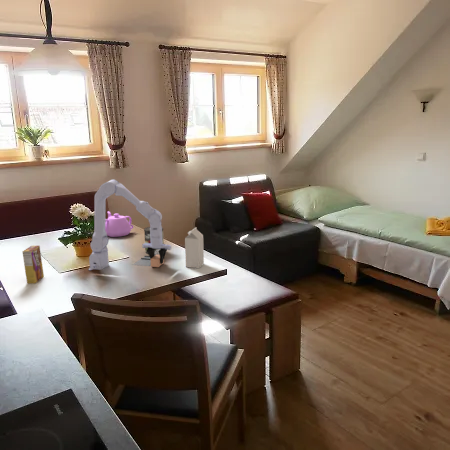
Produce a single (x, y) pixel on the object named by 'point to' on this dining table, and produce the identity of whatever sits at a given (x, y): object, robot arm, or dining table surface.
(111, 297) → the dining table surface
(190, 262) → the milk carton
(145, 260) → the board
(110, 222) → the teapot
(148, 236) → the coffee can
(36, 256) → the candy box
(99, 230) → the robot arm
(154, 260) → the cover
